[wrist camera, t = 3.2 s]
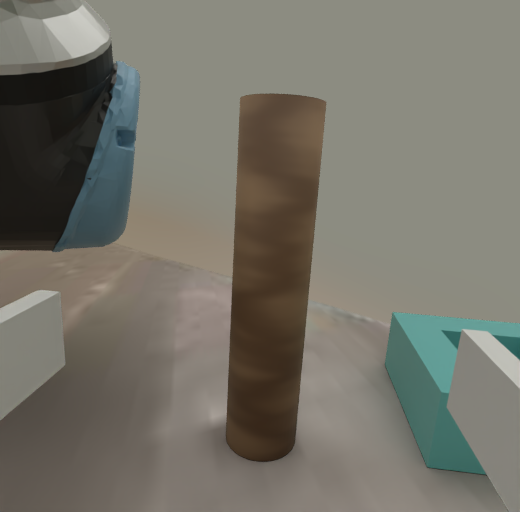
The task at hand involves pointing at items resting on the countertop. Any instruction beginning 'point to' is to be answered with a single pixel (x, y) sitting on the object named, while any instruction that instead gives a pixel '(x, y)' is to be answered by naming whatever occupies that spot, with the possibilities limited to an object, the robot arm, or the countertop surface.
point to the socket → (436, 381)
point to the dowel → (271, 268)
